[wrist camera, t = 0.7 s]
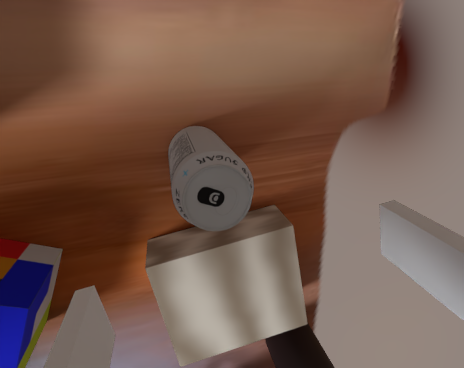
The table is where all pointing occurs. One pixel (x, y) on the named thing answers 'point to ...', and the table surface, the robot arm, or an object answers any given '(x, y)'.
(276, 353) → the bottle
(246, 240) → the silver flat block
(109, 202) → the table surface
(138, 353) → the table surface
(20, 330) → the puzzle toy
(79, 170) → the table surface
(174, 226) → the table surface
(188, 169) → the energy drink can
